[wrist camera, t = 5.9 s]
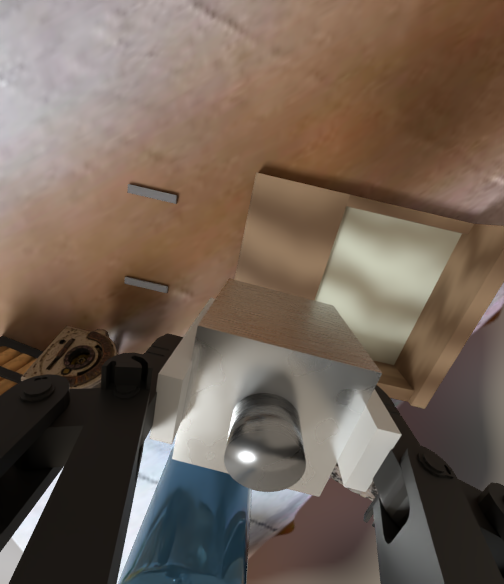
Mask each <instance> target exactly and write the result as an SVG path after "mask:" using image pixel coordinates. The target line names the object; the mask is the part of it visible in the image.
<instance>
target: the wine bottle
mask: <svg viewBox="0 0 504 584" xmlns="http://www.w3.org/2000/svg"><path fill="white" fill-rule="evenodd" d="M173 451H174V448H173V449H172V451H171V453H170V456H169V458H168V460H167V463H166V465H165V468H164V470H163V473H162V475H161V478H160V480H159V483H158V485H157V488H156V490H155V493H154V495H153V498H152V500H151V503H150V505H149V508H148V510H147V513H146V515H145V518H144V520H143V522H142V525H141V527H140V530H139V532H138V535H137V537H136V540H135V542H134V545H133V547H132V550H131V552H130V555H129V557H128V560H127V562H126V565H125V567H124V570H123V572H122V575H121V577H120V580H119V582H118V584H246V580H247V563H248V547H249V530H250V513H251V497H252V489H249V488H247V487H245V486H243V485H241V484H239V483H238V482H236V481H235V480H234V479H233V478H232V477H231V476H230V474H228V473H224V472H220V471H217V470H213V469H209V468H205V467H201V466H197V465H193V464H189V463H185V462H181V461H178V460H174V459H172V456H173Z"/></svg>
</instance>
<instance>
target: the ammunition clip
mask: <svg viewBox="0 0 504 584" xmlns="http://www.w3.org/2000/svg"><path fill="white" fill-rule="evenodd" d="M42 353H43V352H42V351H40V350H37V349H35V348H32V347H30V346H27V345H25V344H22V343H20V342H17V341H15V340H12V339H9V338H7V337H4V336H1V337H0V395H2V394H3V393H4V392H6V391H7V390H8V389H10V388H11V387H13V386H14V385H16V384H18V383H20V382H21V377H22V376H23V374H24V373H25V372H26V371H27V370H28V369H29V367H30V366H31V365H32V364H33V363H34V362H35V361H36V359H37V358H38V357H39V356H40V355H41V354H42Z"/></svg>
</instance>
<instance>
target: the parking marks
mask: <svg viewBox="0 0 504 584" xmlns="http://www.w3.org/2000/svg"><path fill="white" fill-rule="evenodd" d="M128 193H132V194H136V195H141V196H145V197H149V198H154V199H158V200H162V201H166V202H171V203H175V204H177V195H173V194H169V193H164V192H160V191H156V190H152V189H147V188H143V187H139V186H134V185H130V184H128ZM125 284H129V285H133V286H138V287H142V288H146V289H151V290H155V291H159V292H164V293H168V286H165V285H161V284H157V283H152V282H148V281H143V280H139V279H135V278H130V277H125Z"/></svg>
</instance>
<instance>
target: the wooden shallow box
mask: <svg viewBox="0 0 504 584" xmlns="http://www.w3.org/2000/svg"><path fill="white" fill-rule="evenodd" d="M235 280H238V281H241V282H245V283H249V284H253V285H257V286H261V287H264V288H268V289H272V290H276V291H280V292H284V293H287V294H291V295H295V296H299V297H303V298H307V299H310V300H314V301H318V302H322V303H326V304H330V305H333V306H334V307H335V308H336V310H337V311H338V313H339V314H340V315H341V317H342V318H343V320H344V321H345V322H346V324H347V325H348V326H349V328H350V329H351V331H352V332H353V333H354V335H355V336H356V338H357V339H358V340H359V342H360V343H361V345H362V346H363V347H364V349H365V350H366V351H367V353H368V354H369V356H370V357H371V358H372V360H373V361H374V363H375V364H376V365H377V367H378V368H379V370H380V371H381V372H382V375H381V377H380V379H379V381H378V383H377V386H379V387H380V388H381V389H382V390H383V391H384V392H385V393H386V394H387V395H388V396H389V398H394V399H398V400H402V401H407V402H409V403H410V405H411V406H415V407H420V408H424V409H425V408H426V406H427V404H428V403H429V401H430V400H431V398H432V396H433V395H434V393H435V391H436V390H437V388H438V387H439V385H440V383H441V382H442V380H443V379H444V377H445V375H446V374H447V372H448V370H449V369H450V367H451V366H452V364H453V363H454V361H455V359H456V358H457V356H458V355H459V353H460V351H461V350H462V348H463V346H464V345H465V343H466V342H467V340H468V338H469V337H470V335H471V334H472V332H473V330H474V329H475V327H476V326H477V324H478V322H479V321H480V319H481V317H482V316H483V314H484V313H485V311H486V309H487V308H488V306H489V305H490V303H491V301H492V300H493V298H494V297H495V295H496V293H497V292H498V290H499V289H500V287H501V285H502V284H503V282H504V226H498V225H484V224H473V223H469V222H464V221H460V220H456V219H452V218H447V217H443V216H439V215H435V214H430V213H426V212H422V211H418V210H413V209H409V208H405V207H401V206H396V205H392V204H388V203H384V202H379V201H375V200H371V199H367V198H362V197H358V196H354V195H350V194H345V193H341V192H337V191H333V190H328V189H324V188H320V187H316V186H311V185H307V184H303V183H299V182H294V181H290V180H286V179H282V178H278V177H273V176H269V175H265V174H261V173H256V176H255V181H254V186H253V191H252V196H251V201H250V206H249V211H248V216H247V221H246V226H245V231H244V236H243V241H242V245H241V250H240V255H239V260H238V265H237V270H236V275H235Z"/></svg>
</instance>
